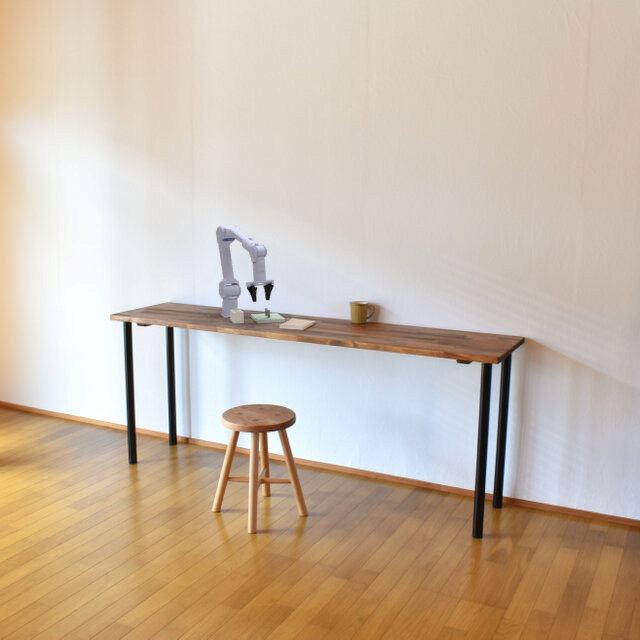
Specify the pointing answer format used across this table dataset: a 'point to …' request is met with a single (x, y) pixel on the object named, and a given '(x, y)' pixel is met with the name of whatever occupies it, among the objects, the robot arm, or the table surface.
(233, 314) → the beige hollow block
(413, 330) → the table surface
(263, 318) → the pin plate
